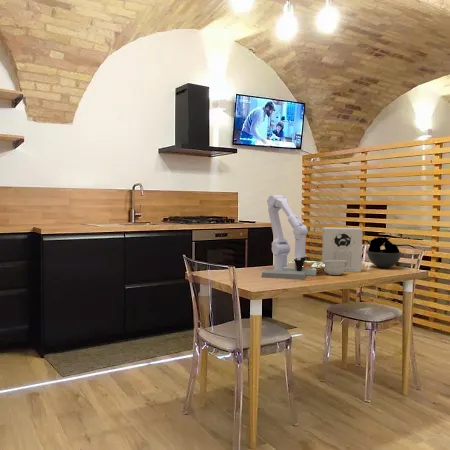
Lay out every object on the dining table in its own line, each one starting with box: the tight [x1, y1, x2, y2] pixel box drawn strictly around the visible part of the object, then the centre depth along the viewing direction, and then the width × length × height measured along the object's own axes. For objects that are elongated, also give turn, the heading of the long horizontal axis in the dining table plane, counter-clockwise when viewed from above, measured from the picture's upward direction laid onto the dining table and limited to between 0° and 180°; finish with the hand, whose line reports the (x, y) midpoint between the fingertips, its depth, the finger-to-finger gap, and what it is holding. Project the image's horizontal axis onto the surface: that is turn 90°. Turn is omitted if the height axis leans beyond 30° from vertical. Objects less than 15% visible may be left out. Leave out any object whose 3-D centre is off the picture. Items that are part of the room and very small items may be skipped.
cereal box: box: [321, 226, 363, 273], centre depth 274 cm, size 22×8×25 cm, turn 84°
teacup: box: [324, 260, 348, 276], centre depth 260 cm, size 14×11×8 cm
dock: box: [261, 269, 307, 280], centre depth 250 cm, size 11×22×2 cm, turn 75°
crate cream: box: [287, 261, 296, 268], centre depth 261 cm, size 4×4×3 cm
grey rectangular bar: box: [283, 266, 317, 276], centre depth 260 cm, size 18×5×3 cm, turn 75°
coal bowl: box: [366, 236, 402, 269], centre depth 288 cm, size 20×20×19 cm
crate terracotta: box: [303, 262, 312, 269], centre depth 259 cm, size 4×4×3 cm
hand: (299, 271), depth 260 cm, fingers closed on grey rectangular bar, 5 cm apart
